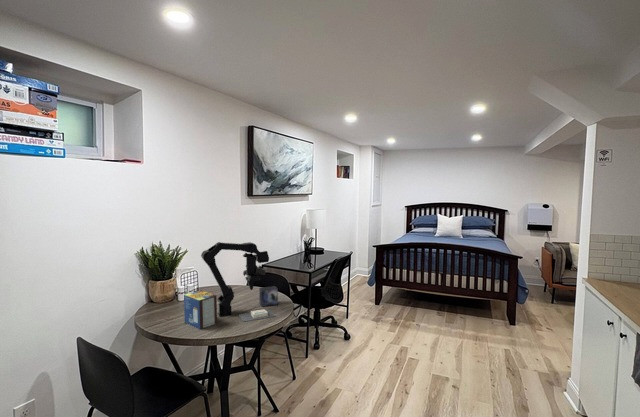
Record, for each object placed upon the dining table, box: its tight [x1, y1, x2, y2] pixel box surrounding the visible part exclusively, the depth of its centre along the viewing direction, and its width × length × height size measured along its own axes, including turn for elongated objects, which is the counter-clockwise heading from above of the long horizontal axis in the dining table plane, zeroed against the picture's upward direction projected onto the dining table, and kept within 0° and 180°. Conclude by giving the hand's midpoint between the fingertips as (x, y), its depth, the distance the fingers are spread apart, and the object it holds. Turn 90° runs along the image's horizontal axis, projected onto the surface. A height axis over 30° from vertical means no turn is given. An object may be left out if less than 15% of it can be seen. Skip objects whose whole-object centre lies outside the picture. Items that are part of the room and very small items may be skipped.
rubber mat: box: [238, 309, 276, 323], centre depth 192 cm, size 18×12×1 cm, turn 116°
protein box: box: [183, 290, 218, 330], centre depth 181 cm, size 10×15×16 cm
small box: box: [258, 285, 279, 308], centre depth 211 cm, size 11×6×10 cm, turn 112°
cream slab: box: [250, 308, 268, 318], centre depth 191 cm, size 8×2×6 cm
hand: (251, 289), depth 202 cm, fingers closed
